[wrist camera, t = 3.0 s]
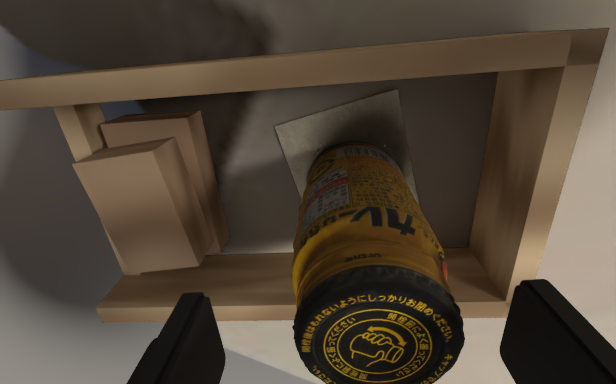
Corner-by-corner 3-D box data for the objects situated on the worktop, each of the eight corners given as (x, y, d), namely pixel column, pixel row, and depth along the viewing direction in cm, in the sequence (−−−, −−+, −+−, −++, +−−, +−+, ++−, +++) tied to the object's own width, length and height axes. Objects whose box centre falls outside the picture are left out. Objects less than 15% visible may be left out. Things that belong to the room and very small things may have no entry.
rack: (68, 72, 18) (-19, 82, 14) (529, 31, 16) (609, 28, 11) (144, 270, 24) (102, 322, 20) (484, 260, 22) (524, 317, 17)
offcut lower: (125, 114, 19) (99, 124, 17) (203, 108, 19) (186, 117, 17) (166, 235, 23) (149, 256, 21) (231, 233, 23) (221, 253, 21)
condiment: (316, 239, 22) (304, 427, 11) (274, 125, 19) (201, 239, 8) (420, 214, 21) (520, 401, 10) (396, 87, 17) (506, 163, 7)
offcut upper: (103, 148, 18) (71, 164, 16) (175, 136, 17) (152, 151, 15) (151, 248, 21) (129, 273, 19) (213, 241, 20) (199, 266, 18)
